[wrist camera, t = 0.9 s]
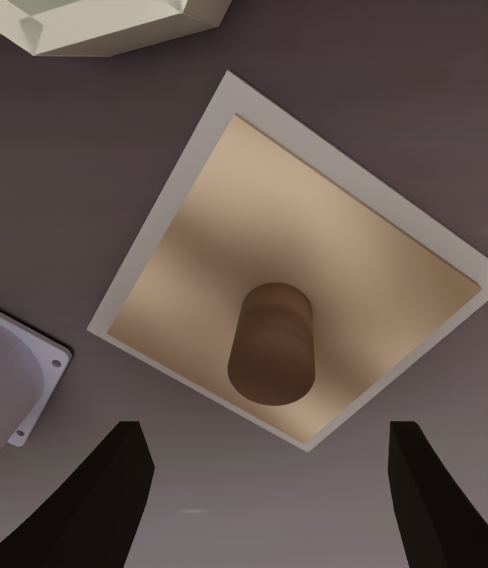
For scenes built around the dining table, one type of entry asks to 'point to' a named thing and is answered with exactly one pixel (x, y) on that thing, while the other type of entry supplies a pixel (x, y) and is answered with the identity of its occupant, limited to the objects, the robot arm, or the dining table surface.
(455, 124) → the dining table surface
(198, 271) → the board
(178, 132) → the dining table surface
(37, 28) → the bowl
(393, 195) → the mat
